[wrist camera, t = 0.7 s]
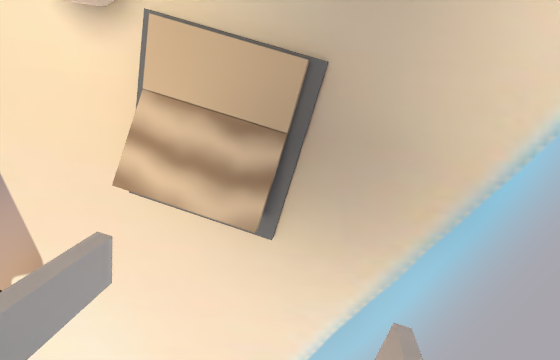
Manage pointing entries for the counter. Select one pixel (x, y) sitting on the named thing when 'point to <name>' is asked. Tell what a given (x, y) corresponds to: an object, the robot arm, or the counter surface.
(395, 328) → the robot arm
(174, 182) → the plank
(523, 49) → the counter surface
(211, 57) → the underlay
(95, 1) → the foam cup
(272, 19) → the counter surface
